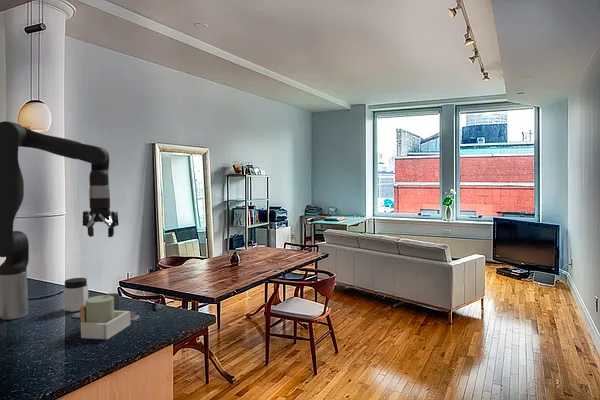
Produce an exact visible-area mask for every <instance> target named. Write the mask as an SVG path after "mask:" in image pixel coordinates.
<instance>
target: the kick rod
mask: <svg viewBox="0 0 600 400" xmlns="http://www.w3.org/2000/svg"><path fill="white" fill-rule="evenodd" d="M106 295H110V296H113V297H114V310H115V311H120V293H115V292H114V293H111V292H110V293H107V294H106ZM137 312H138V311H130V316H136V315H138V313H137ZM79 313H80V318H79V319H80V324H81V323H82V322H87V321H86V305H84V306H81V307H80V311H79Z"/></svg>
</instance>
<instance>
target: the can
mask: <svg viewBox="0 0 600 400" xmlns="http://www.w3.org/2000/svg"><path fill="white" fill-rule="evenodd" d="M85 302H86V321H87V322H88V323H107V322H109V321H111V320H112V319H114V297H113V296H110V295H107V294H105V295H96V296H95V295H94V296H90V297H88V299H86V300H85Z"/></svg>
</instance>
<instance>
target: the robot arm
mask: <svg viewBox="0 0 600 400" xmlns="http://www.w3.org/2000/svg"><path fill="white" fill-rule="evenodd" d="M19 147H21V148H31V149H37V150H41V151H45V152H48V153H51V154H53V155H56V156H61V157H64V158H68V159H73V160H80V161H82V162H86V163H89V164H91V165H90V167H91V168H90V172H89V178H88V181H89V189H88V190H89V191H88V196H89V197H88V199H89V209H90V210H84V211H82V226H83V227H86V228H87V235H88V238H90V237H91V238H92V237H94V231H95V230H94V229H95V228H94V225H95V224H96V223H104V224H105V225H106V226H107V227H108V228H107V237H108V238H113V237H114V235H115V227H118V226H119V215H118V211H117V210H114V211H113V210H112V211H110V210H111V194H110V193H111V191H110V182H109V169H110V154H109V152H108V150H107V149H105V148H103V147H101V146H96V145H92V144H87V143H82V142H79V141H76V140H71V139H69V138H64V137H60V136H54V135H53V136H52V135H48V134H44V133H41V132H37V131H35V130H32V129H29V128H27V127H25V126H22V125H21V124H19V123H16V122H12V121H8V120H7V121H6V120H5V121H0V258H5V259H4V261H3V262H2V264H0V319H1V320H15V319H20V318H23V317H26V316H27V315H29V297H28V276H27V275H28V271H27V267H28V265H29V262H30V261H29V259H30V258H29V256H30V251H29V250H30V247H29V246H30V243H29V239H28V237H27V234H26V233H25V232H23V231H21V230H14V222H15V218H16V215H17V213H18V211H19V210H20V208H21V206H22V203H23V200H24V197H25V195H24V194H25V193H24V192H25V190H24V189H25V187H24V186H25V185H24V183H25V182H24V177H23V173H22V170H21V167H20V163H19Z"/></svg>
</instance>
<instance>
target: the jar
mask: <svg viewBox="0 0 600 400" xmlns="http://www.w3.org/2000/svg"><path fill="white" fill-rule="evenodd" d="M87 282H88V281H87V278H86V277H73V278H68V279H66V280H65V281H64V287H63V306H64V307H63V310H64V311H67V312H71V313H73V312H80V307H81V306H84V305H86V302H85V300H86V299H88V298H89V285H88V283H87Z"/></svg>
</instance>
